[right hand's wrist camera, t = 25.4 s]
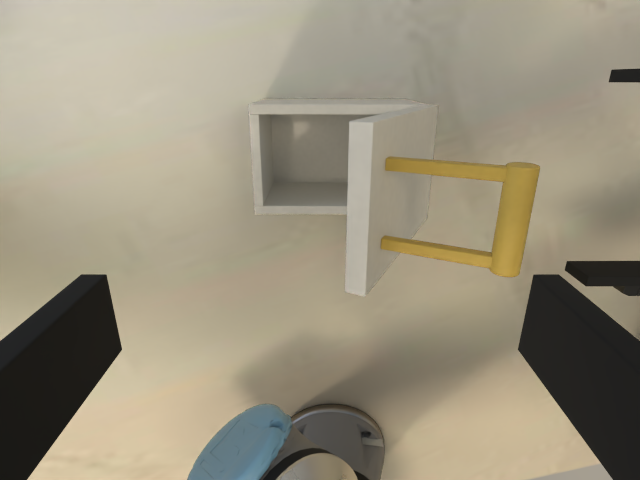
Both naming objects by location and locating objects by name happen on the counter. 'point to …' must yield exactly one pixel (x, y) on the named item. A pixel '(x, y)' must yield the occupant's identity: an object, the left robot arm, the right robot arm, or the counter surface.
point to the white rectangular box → (420, 198)
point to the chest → (306, 152)
